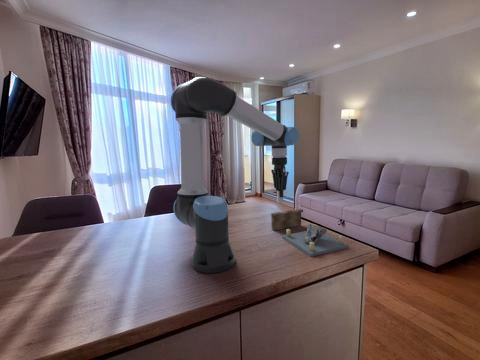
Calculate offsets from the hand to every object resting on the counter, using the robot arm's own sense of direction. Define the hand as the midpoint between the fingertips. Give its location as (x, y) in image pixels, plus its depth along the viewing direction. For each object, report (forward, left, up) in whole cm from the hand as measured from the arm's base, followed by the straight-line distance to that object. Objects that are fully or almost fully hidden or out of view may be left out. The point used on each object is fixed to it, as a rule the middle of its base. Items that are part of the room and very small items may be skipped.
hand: (280, 202), depth 127 cm
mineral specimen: (0, -28, -10) cm, 30 cm away
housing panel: (0, -7, -11) cm, 13 cm away
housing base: (0, -27, -11) cm, 29 cm away
